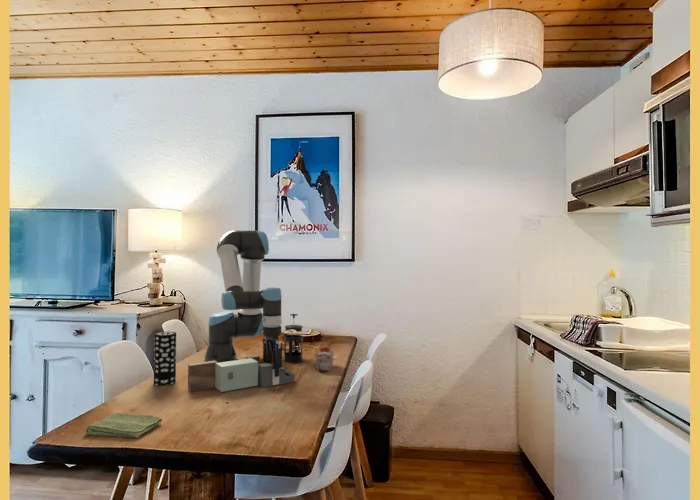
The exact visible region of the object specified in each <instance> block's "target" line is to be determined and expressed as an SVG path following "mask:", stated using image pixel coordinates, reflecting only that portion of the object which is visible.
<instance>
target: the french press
mask: <svg viewBox="0 0 700 500" xmlns="http://www.w3.org/2000/svg"><path fill="white" fill-rule="evenodd" d="M298 315H299V314H298V313H290V314H289V316H290V317H291V316H292V321H293V324H287V325H285V326H284V328H285V329H284V330H285V332H287V331H288V330H290V331H291V330H292V333H293V334H286V335H284V337H283V338H284V342H283V343H284V346H283V347H284V351H283V352H284V353H283V354H284V355H283V361H284V362H285V363H289V364H292V363H293V364H294V363H295V364H296V363H300V362H304V361H303V340H304V339H303V338H304V337H303V335H301V334H295V331H296V332H297V333H300V332H302V330H303V325H299V324H295V318H296V317H295V316H298ZM287 341H288V345H287ZM299 350H300V351H299Z"/></svg>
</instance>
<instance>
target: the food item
mask: <svg viewBox="0 0 700 500" xmlns="http://www.w3.org/2000/svg"><path fill="white" fill-rule="evenodd" d="M318 348H319V351H318V352H316V354H315V359H314V362H315V369H316V370H317V371H319V372H331V371H332V368H333V365H334V364H333V362H334V353H333V349H332V348H329V347H327V346H325V347H322V348H321V347H318Z"/></svg>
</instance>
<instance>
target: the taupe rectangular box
mask: <svg viewBox="0 0 700 500" xmlns="http://www.w3.org/2000/svg"><path fill="white" fill-rule="evenodd" d="M249 358H252V359H254V360H256V361H258V364H261V356H260V355H258V354H255V355H246V356H245V359H249ZM215 363H218V362H217V361H208V362H205V361H203V362H202V361H201V362H195V363H188V364H187V367H188V368H187V391H188V392H190V393H193V392H197V391H204V390H210V389H216V388H215Z"/></svg>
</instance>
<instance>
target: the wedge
mask: <svg viewBox="0 0 700 500" xmlns="http://www.w3.org/2000/svg"><path fill="white" fill-rule="evenodd" d="M272 368H273V364H271V363H260V364H258V386H260V387H262V388H266V387H270V386H272V387H273V386H274V385H272ZM294 382H295V374H294V373H292V372H291V371H288V370H287V369H286V368H285V367H283V366H282V367H281V368H279V384H277V385H276V386H278V385H285V384H289V383H294Z"/></svg>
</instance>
